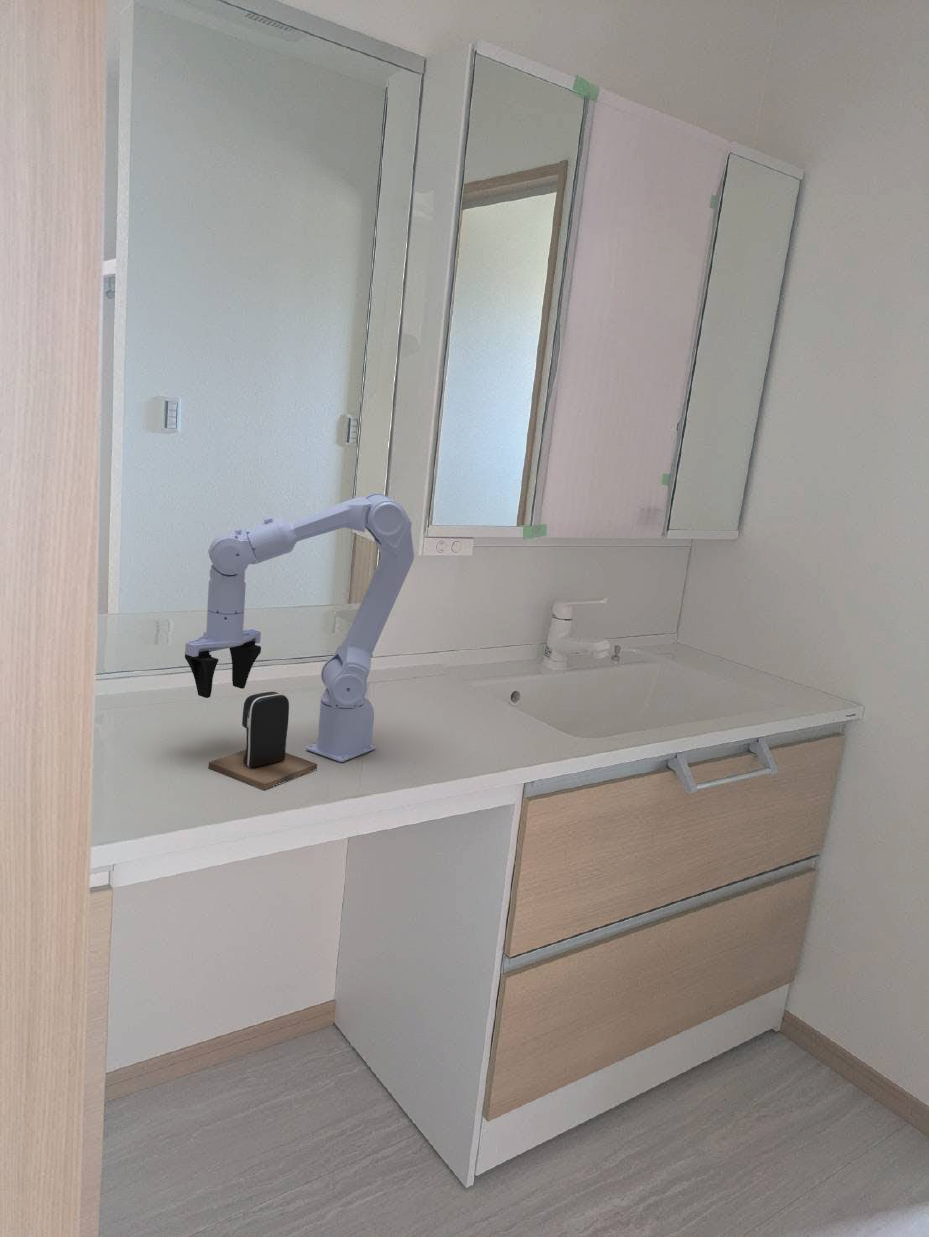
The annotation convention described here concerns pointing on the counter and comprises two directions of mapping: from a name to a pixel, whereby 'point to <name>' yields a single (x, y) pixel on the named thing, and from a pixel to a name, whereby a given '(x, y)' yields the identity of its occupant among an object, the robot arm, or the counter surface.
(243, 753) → the walnut board
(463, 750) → the counter surface
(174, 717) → the counter surface
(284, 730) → the battery charger
